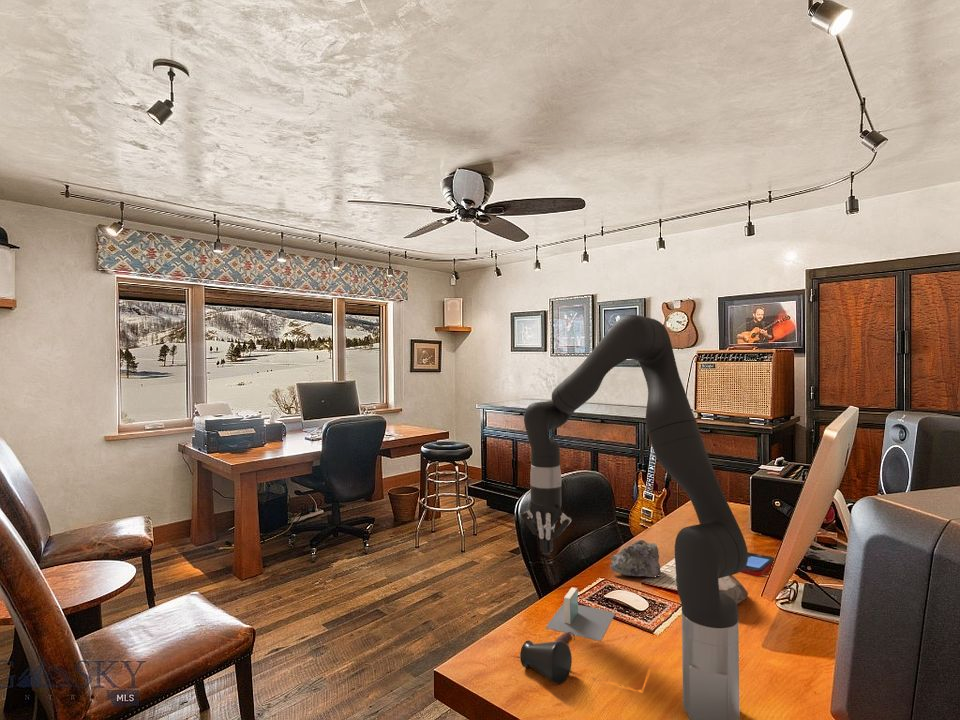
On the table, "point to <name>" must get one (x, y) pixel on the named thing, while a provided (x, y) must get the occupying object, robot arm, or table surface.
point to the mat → (583, 622)
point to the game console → (758, 564)
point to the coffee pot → (549, 658)
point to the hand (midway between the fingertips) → (546, 553)
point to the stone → (732, 588)
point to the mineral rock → (637, 560)
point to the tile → (570, 605)
